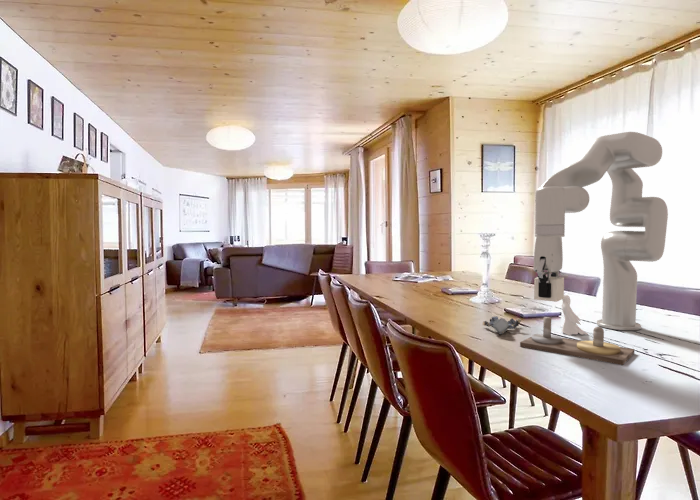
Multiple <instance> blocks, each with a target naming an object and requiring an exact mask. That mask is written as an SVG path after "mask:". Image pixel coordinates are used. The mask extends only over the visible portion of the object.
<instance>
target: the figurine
mask: <svg viewBox="0 0 700 500" xmlns="http://www.w3.org/2000/svg"><path fill="white" fill-rule="evenodd" d="M561 309H562V313H563V316H564V321H563V324H562V329H561V332H562V333H564V334H565V335H568V336H572V335H578V333H579V334H580V335H582V336H584V335H589V333H588V332H586V331H585V330H583V329H582V328H581V327H579V325H581V319H580V318H579V316H578V315H577V314H576V313H575V312H574V311H573V309H572V307H571V298H570V296H569V295H568V294H564V299H562V303H561Z"/></svg>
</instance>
